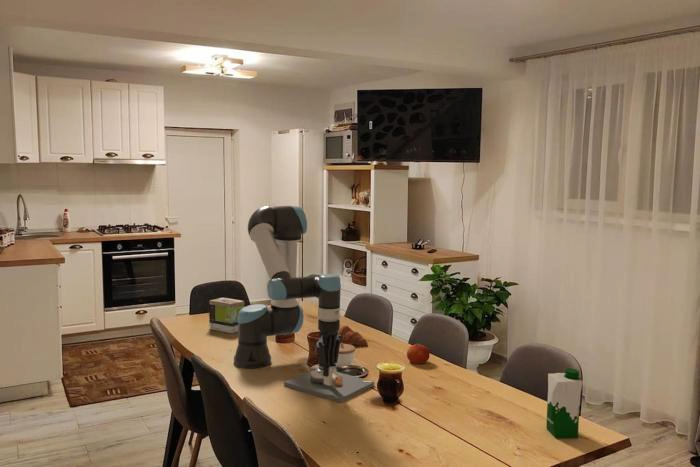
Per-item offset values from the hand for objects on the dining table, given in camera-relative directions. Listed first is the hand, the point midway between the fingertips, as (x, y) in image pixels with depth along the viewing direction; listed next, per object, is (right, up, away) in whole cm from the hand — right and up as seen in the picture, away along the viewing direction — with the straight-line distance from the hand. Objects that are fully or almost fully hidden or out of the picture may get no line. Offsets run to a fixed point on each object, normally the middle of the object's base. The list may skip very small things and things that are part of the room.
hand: (328, 384), depth 211 cm
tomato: (+36, -1, +40) cm, 54 cm away
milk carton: (+73, -9, -26) cm, 78 cm away
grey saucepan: (0, -2, +7) cm, 8 cm away
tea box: (-53, +5, +85) cm, 100 cm away
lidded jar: (+4, -1, +34) cm, 34 cm away
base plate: (0, -3, +11) cm, 11 cm away
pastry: (+6, +2, +66) cm, 67 cm away
